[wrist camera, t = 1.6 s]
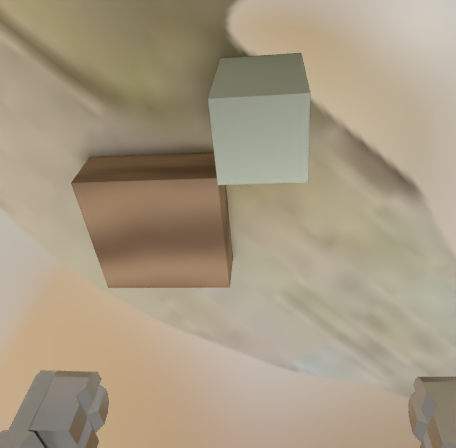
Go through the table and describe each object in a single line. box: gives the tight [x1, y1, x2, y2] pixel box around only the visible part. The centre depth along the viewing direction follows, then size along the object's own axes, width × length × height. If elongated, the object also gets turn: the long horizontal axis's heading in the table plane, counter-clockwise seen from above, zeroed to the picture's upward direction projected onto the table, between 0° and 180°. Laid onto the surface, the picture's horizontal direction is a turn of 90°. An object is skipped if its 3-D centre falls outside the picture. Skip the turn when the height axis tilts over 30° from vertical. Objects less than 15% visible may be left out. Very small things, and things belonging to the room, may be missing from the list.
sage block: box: [208, 53, 310, 185], centre depth 25 cm, size 5×5×7 cm
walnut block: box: [71, 153, 233, 288], centre depth 33 cm, size 10×10×4 cm
